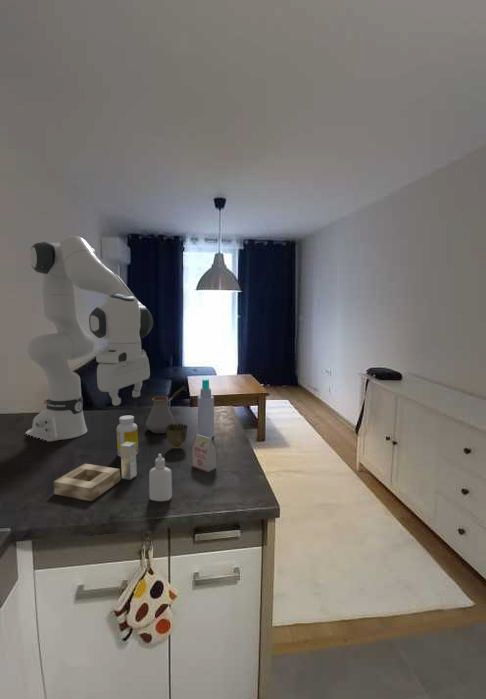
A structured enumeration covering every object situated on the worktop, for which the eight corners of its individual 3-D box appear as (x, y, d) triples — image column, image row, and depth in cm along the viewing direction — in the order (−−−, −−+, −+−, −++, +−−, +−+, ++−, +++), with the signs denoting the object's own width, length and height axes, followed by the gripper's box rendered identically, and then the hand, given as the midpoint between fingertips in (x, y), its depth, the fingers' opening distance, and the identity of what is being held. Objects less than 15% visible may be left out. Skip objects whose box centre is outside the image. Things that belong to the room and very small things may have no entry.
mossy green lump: (183, 453, 130) (182, 430, 129) (162, 451, 132) (162, 428, 131) (190, 445, 137) (190, 423, 136) (171, 443, 139) (170, 422, 138)
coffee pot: (161, 436, 146) (161, 398, 144) (139, 431, 151) (138, 394, 149) (196, 421, 164) (195, 387, 162) (175, 417, 170) (174, 384, 168)
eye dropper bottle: (159, 491, 104) (158, 449, 102) (174, 497, 101) (173, 453, 99) (147, 498, 100) (145, 454, 99) (162, 505, 97) (161, 459, 96)
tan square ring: (54, 493, 103) (53, 481, 102) (85, 474, 114) (84, 463, 113) (91, 501, 99) (91, 488, 98) (120, 480, 110) (119, 469, 110)
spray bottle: (206, 440, 142) (206, 382, 139) (194, 437, 146) (194, 380, 143) (217, 436, 147) (217, 379, 144) (205, 432, 150) (205, 377, 148)
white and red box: (200, 462, 123) (199, 432, 122) (215, 468, 119) (215, 437, 118) (191, 466, 120) (191, 435, 119) (207, 472, 116) (207, 440, 115)
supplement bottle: (142, 452, 131) (141, 415, 129) (130, 459, 125) (129, 421, 123) (125, 449, 133) (124, 413, 132) (113, 456, 127) (111, 419, 125)
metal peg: (121, 478, 112) (120, 445, 111) (127, 473, 115) (126, 441, 113) (130, 479, 111) (129, 446, 110) (136, 475, 114) (135, 442, 112)
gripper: (136, 347, 119) (137, 391, 121) (91, 356, 100) (94, 408, 101) (154, 348, 117) (155, 393, 119) (112, 358, 98) (114, 411, 99)
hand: (126, 400), depth 110 cm, fingers open, 8 cm apart
